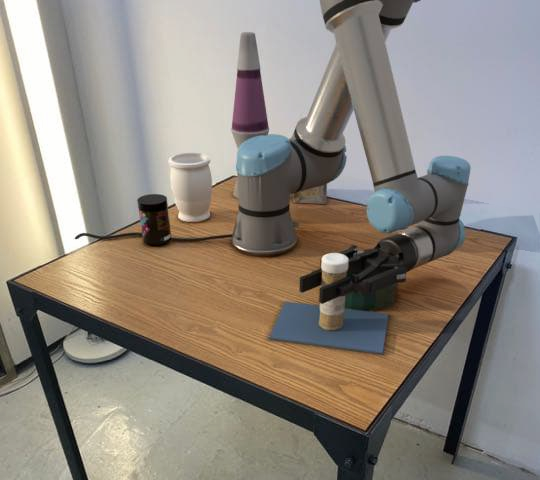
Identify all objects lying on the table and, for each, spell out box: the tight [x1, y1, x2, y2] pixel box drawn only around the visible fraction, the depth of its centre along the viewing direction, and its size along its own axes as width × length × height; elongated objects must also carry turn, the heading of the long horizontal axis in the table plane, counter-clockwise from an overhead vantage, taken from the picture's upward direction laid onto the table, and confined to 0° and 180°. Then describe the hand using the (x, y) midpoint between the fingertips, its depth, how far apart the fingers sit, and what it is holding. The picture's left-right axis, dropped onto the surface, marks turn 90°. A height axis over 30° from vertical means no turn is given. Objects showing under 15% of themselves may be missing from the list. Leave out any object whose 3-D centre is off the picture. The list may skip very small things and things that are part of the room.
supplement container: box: [136, 193, 172, 248], centre depth 132 cm, size 7×7×10 cm
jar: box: [167, 152, 213, 223], centre depth 143 cm, size 11×10×15 cm
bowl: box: [344, 272, 398, 312], centre depth 113 cm, size 14×14×4 cm
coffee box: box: [292, 183, 328, 205], centre depth 153 cm, size 9×6×16 cm
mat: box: [268, 301, 390, 355], centre depth 104 cm, size 20×13×1 cm, turn 76°
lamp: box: [230, 31, 270, 199], centre depth 150 cm, size 11×11×40 cm
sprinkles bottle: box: [319, 252, 349, 331], centre depth 100 cm, size 5×5×13 cm
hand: (310, 290), depth 96 cm, fingers closed on sprinkles bottle, 4 cm apart
